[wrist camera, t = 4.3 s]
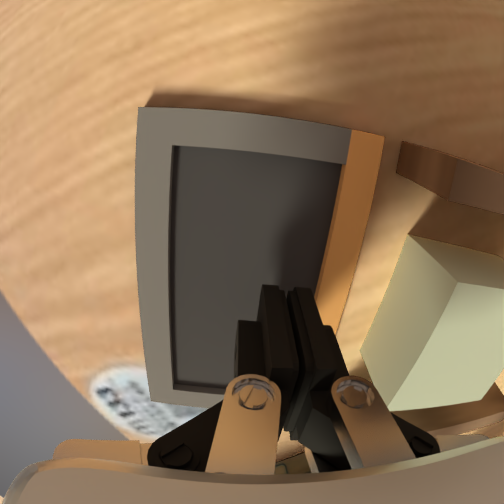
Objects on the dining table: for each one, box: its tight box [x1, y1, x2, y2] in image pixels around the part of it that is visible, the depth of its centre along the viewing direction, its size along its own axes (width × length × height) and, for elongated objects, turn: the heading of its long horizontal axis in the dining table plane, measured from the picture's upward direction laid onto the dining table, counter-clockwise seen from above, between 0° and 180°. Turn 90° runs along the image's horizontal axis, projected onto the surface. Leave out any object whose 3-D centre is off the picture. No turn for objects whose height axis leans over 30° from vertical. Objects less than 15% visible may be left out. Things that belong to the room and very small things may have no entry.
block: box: [360, 234, 504, 411], centre depth 12 cm, size 6×6×4 cm
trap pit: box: [135, 107, 385, 408], centre depth 12 cm, size 8×13×1 cm, turn 173°
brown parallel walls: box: [390, 141, 504, 438], centre depth 12 cm, size 12×13×4 cm
